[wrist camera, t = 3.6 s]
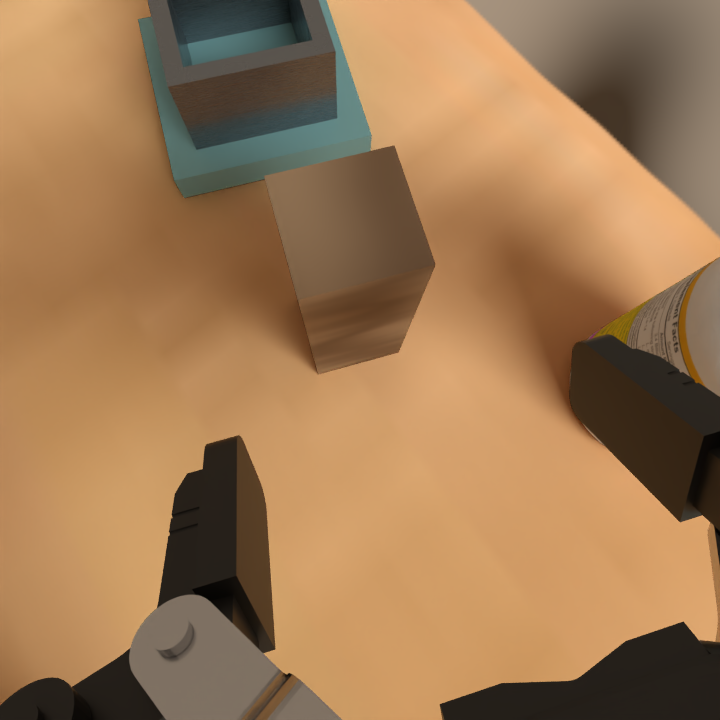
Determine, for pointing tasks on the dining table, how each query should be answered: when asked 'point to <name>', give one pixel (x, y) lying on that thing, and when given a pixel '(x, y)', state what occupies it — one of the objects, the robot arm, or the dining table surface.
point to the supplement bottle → (678, 326)
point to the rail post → (352, 254)
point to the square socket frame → (246, 68)
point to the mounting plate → (262, 152)
